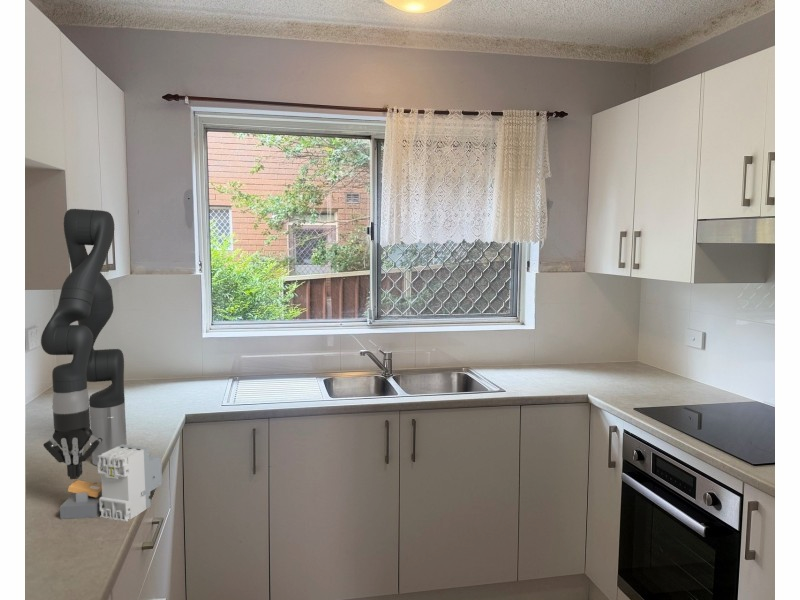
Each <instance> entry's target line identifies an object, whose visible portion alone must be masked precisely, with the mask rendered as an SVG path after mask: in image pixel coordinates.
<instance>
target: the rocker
mask: <svg viewBox="0 0 800 600" xmlns="http://www.w3.org/2000/svg"><path fill="white" fill-rule="evenodd" d="M94 483H95V482H88V481H84V480H80V479H74V481H73V482H72V483H71V484H70V485H69V486H68V490H67V492H70V493H72V494H73V493H87V492H88V496H92V497H98V496H99V495H100V494H101V493H102V484H98V483H97V484H94Z"/></svg>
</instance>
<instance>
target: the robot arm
mask: <svg viewBox="0 0 800 600" xmlns="http://www.w3.org/2000/svg"><path fill="white" fill-rule="evenodd" d="M63 231H64V233H63V234H64V239H65V243H66V246H67V247H66V248H67V252H68V258H69V262H70V266H71V267H70V268H71V272H70V273H69V275H67V277H66V278H65V280H64V282H63V284H62V287H61V290H60V294H59V299H58V304H57V307H56V309H55V310H54V312H53V313H52V316H51V318H49V321H48V322H47V324H46V326H45V327H44V329H43V332H42V334H41V337H40V345H41V347H42V348H41V349H42V350H43V351H44V352H45V354H47V355H50V356H70V355H71V356H72V360H71V362H69V363H68V362H67V363H64V364H60V365H57V366H55V367H54V368H53V369H52V373H51V377H52V405H51V406H52V407H51V409H52V414H53V416H52V417H53V430H54V432H53V434H52V438H51V439H49V440H47V441H45V443H43V447H44V449H46V451H47V452H48V453H49V454H50V455H51V456H52V457H53V458H54V459H55V460H56V462H58V463H59V464H61V463H64V464H66V471H67V472H66V473H67V476H68V478H70V480H79V478H80V476H81V475H83V463H84V462H86V461H87V460H89V459H90V457H91V461H92V465H94V466H97V467H98V462H99V457H98V455H102V453H105V452H107V451H109V450H111V449H113V448H115V447H118V446H120V445H122V444H125V445H128V443H127V425H126V424H127V423H126V422H127V421H126V401H125V400H126V398H125V382H124V381H125V378H124V377H125V358H124V353H123V351H122V350H121V349H120V348H107V349H106V348H105V349H94V346H95V343H96V341H97V339H98V337H99V336H100V335H99V334H101V332H102V330H103V329H104V327H105V326H106V325H107V323H108V322H109V320H110V319H111V317H112V314H113V312H114V297H113V289H112V286H111V284H110V283H109V281H108V279H107V278H106V277H105V275H103V274H102V269H103V267H104V265H105V262H106V259H107V256H108V254H109V251H110V248H111V246H112V242H113V240H114V236H115V221H114V217H113V215H112V214H111V212H109V211H105V210H101V209H100V210H98V209H96V210H95V209H86V208H70V209H67V210H66V212H65V213H64V217H63ZM86 246H92V247H91V248H92V249H91V251H90V252H88V250H87V247H86ZM74 322H77V324H72V323H74ZM96 382H97V383H98V382H99V383H100V382H111V384H110V385H109V386H107V387H106V388H103V389H101V390H99V391H96V392H94V393H92V394H91V395H90V396H89V391H88V383H96ZM87 444H88V446H89V447H88V449H87V450H86V451H85V452H84V450H85V446H86V445H87Z"/></svg>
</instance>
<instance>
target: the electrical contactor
mask: <svg viewBox="0 0 800 600" xmlns="http://www.w3.org/2000/svg"><path fill="white" fill-rule="evenodd" d="M149 450H150V449H149V447H147V446H139V445H132V444H127V445H125V444H122V445H120V446H118V447H115V448H113V449H111V450H109V451H107V452H105V453H102V455H98V457H99V462H98V466H97V474H100V481H101V485H102V497H100V498H99V505H100V511H101V513H100V515H99V518H101V517H103V518H102V519H107V518H109V519H108V520H113V519H114V520H115V521H119V520H121V521H120V522H125V521H126V523H127V522H128V521H129V520H131V519H133V518H135V517H136V516H138V515H139V514H141V513H143V512H144V511H145V510H147V509H148V508H149V509H150V507H151V506H152V505H151V504H152V503H151V501H152V499H151V498H150V497H151V492H152V491H154V490H155V489H156V488H159V487H161V486H162V485H163V472H162V471H163V470H162V469H163V463H162V455H157V454H152V453H150V452H149ZM101 467H102V468H101ZM102 505H104V507H103V508H102ZM108 516H109V517H108ZM128 519H129V520H128ZM114 520H113V521H114Z"/></svg>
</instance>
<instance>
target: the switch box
mask: <svg viewBox="0 0 800 600" xmlns="http://www.w3.org/2000/svg"><path fill="white" fill-rule="evenodd" d="M93 483H94V484H98V482H93ZM100 497H102V493H101V494H100V495H99V496H98V497H92V496H88V492H87V493H73V492H72V494H71V495H70V496H69V497H68V498H67V499H65V501H64V502H63V503H62V504H61V505H60V506H59V517H60V520H66V519H67V520H68V519H69V520H70V519H87V518H97V517H98V516H100V515H101V511H100V505H99V498H100ZM103 507H104V505H102V508H103Z"/></svg>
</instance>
